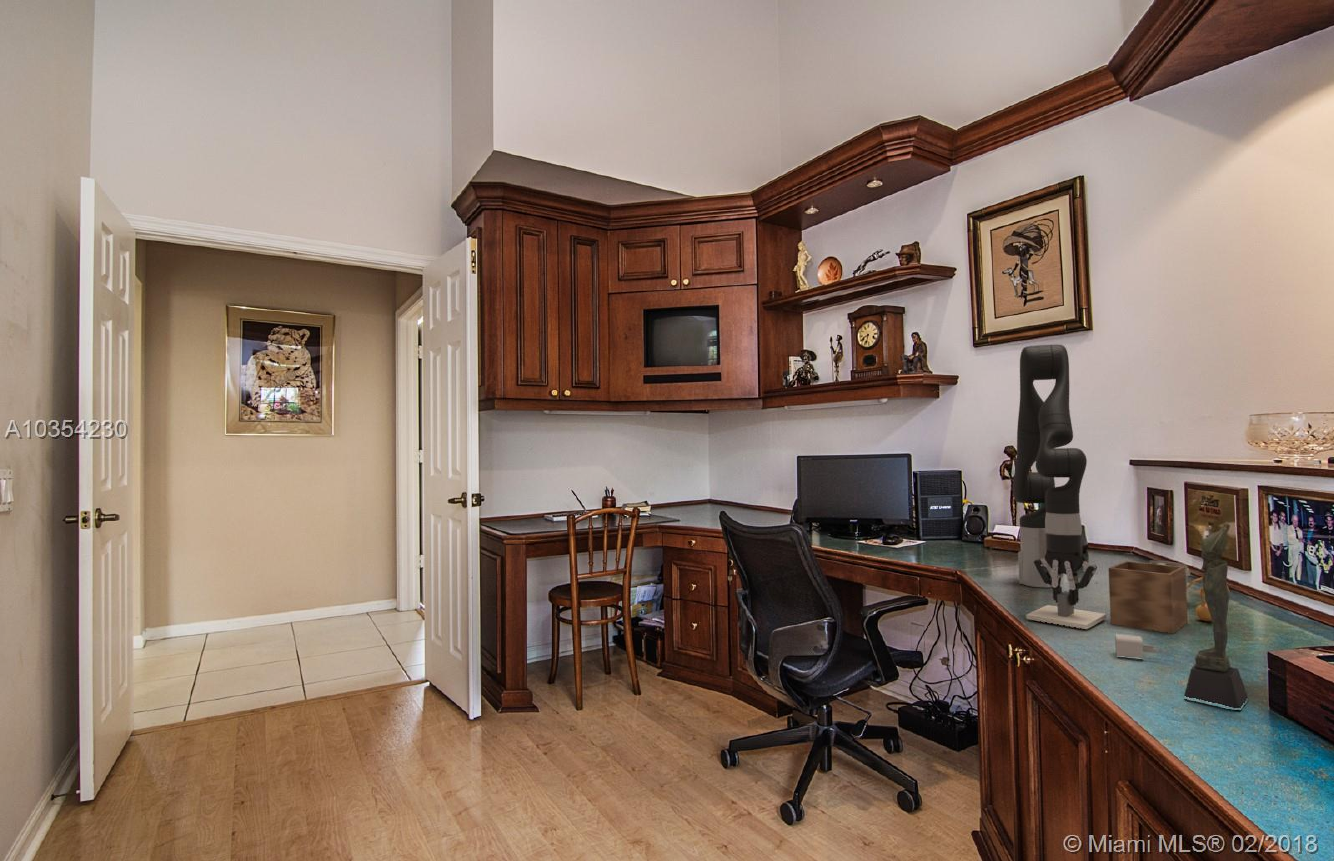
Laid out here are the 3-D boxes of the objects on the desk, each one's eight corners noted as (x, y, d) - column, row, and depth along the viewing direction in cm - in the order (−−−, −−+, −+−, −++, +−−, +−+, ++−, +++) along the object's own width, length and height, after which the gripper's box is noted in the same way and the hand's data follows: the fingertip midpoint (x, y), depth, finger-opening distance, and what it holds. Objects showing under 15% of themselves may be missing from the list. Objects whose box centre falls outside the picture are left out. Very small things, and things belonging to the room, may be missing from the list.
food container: (1202, 609, 169) (1200, 569, 169) (1174, 608, 170) (1172, 568, 170) (1175, 597, 181) (1174, 560, 181) (1149, 597, 182) (1148, 560, 182)
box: (1110, 623, 159) (1108, 567, 159) (1127, 614, 166) (1125, 560, 167) (1172, 633, 150) (1170, 574, 150) (1187, 623, 157) (1185, 567, 157)
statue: (1193, 688, 118) (1186, 516, 119) (1249, 700, 112) (1241, 519, 113) (1182, 699, 113) (1175, 520, 114) (1240, 712, 108) (1232, 523, 108)
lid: (1026, 622, 163) (1025, 593, 163) (1048, 612, 171) (1046, 585, 172) (1087, 633, 153) (1085, 602, 153) (1106, 622, 162) (1105, 592, 162)
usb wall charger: (1115, 652, 138) (1114, 632, 139) (1157, 657, 135) (1156, 637, 135) (1117, 658, 135) (1116, 638, 135) (1159, 663, 131) (1158, 642, 132)
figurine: (1225, 620, 159) (1223, 568, 159) (1235, 627, 153) (1233, 573, 153) (1182, 617, 162) (1180, 567, 162) (1190, 624, 156) (1188, 572, 157)
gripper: (1026, 530, 166) (1028, 601, 165) (1090, 535, 155) (1093, 611, 155) (1038, 527, 170) (1041, 596, 170) (1101, 532, 160) (1104, 605, 159)
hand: (1066, 603), depth 162 cm, fingers closed
